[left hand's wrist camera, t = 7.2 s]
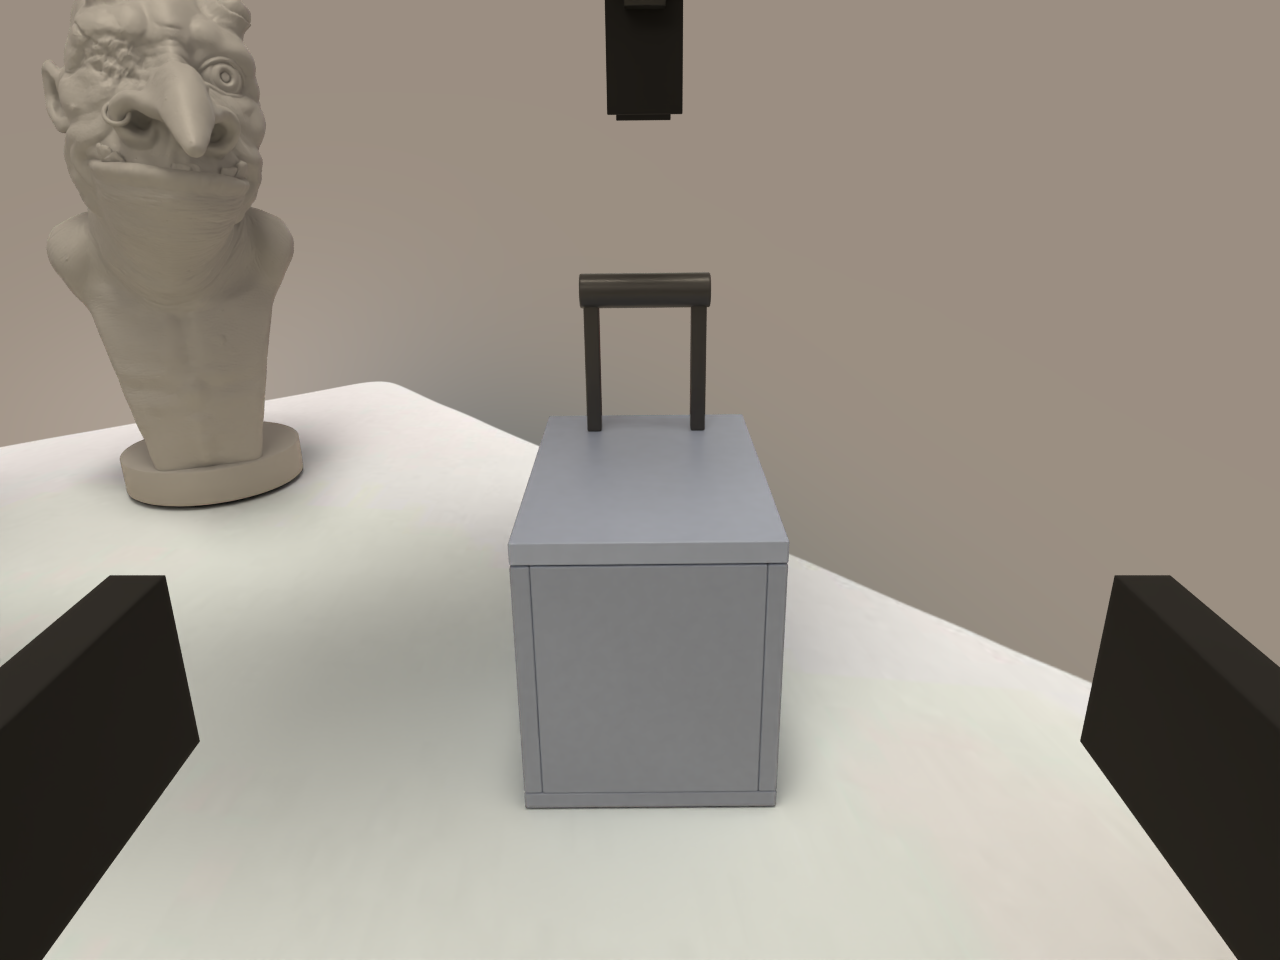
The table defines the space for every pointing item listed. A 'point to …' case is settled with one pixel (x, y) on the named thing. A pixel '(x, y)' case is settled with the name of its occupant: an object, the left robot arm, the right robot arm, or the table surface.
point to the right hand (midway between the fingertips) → (643, 118)
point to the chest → (649, 683)
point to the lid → (647, 463)
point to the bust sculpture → (174, 239)
